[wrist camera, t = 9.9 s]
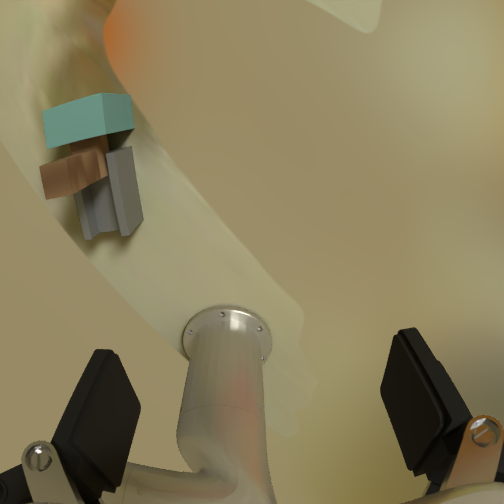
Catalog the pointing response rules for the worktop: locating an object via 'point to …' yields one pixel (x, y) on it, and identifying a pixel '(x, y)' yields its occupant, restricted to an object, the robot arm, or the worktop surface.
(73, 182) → the rod
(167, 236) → the worktop surface
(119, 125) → the teal rectangular block
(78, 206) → the guide channel
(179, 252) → the worktop surface
